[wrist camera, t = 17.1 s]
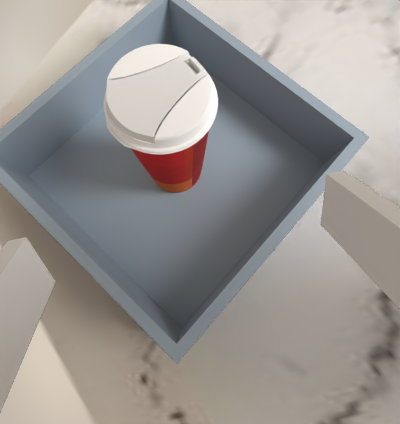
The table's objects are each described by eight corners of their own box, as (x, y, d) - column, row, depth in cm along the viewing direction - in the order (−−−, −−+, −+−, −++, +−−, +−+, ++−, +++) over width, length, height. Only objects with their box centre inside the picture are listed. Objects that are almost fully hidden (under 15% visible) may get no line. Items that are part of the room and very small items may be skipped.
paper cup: (183, 126, 31) (170, 17, 18) (223, 175, 30) (244, 97, 16) (128, 165, 30) (71, 80, 17) (168, 216, 29) (141, 171, 15)
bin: (332, 165, 31) (369, 137, 24) (182, 340, 27) (176, 364, 20) (174, 42, 35) (168, -13, 28) (22, 179, 31) (-29, 153, 24)
